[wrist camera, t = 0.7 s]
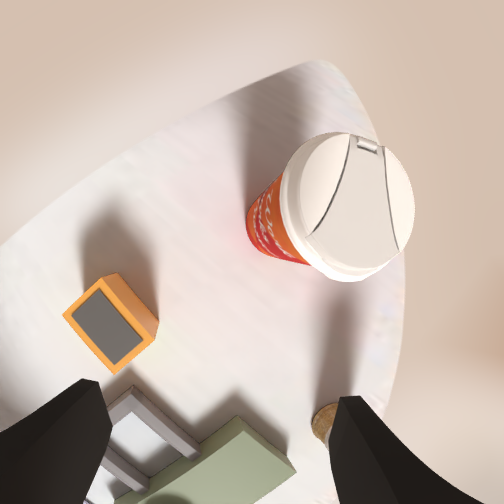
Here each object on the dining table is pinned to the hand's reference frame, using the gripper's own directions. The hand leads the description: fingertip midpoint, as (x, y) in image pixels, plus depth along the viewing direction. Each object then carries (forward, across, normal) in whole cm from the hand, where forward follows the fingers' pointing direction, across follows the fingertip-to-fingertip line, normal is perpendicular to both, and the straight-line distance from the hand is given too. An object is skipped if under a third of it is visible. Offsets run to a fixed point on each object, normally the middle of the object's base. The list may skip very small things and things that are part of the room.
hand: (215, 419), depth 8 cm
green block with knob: (+12, +7, +20) cm, 24 cm away
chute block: (+16, +10, +5) cm, 19 cm away
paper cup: (+21, -3, -1) cm, 21 cm away
